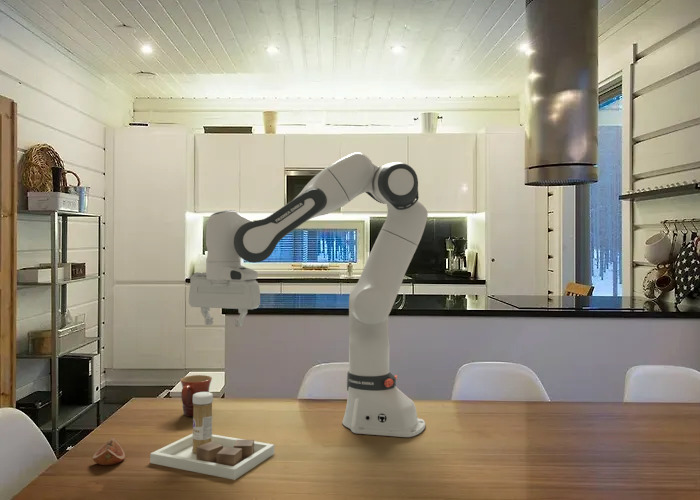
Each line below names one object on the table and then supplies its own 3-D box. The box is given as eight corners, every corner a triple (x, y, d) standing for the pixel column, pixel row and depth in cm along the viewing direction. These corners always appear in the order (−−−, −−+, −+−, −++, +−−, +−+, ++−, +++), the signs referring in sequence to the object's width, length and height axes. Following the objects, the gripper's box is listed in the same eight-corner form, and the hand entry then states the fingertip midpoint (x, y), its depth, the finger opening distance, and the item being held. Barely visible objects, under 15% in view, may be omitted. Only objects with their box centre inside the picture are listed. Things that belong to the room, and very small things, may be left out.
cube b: (222, 463, 126) (222, 445, 126) (208, 469, 123) (208, 450, 123) (210, 459, 129) (210, 441, 129) (196, 465, 126) (196, 446, 125)
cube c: (254, 457, 130) (254, 439, 130) (251, 464, 126) (251, 445, 126) (236, 457, 130) (236, 439, 130) (233, 464, 126) (233, 445, 126)
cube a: (242, 466, 125) (242, 448, 125) (234, 474, 121) (234, 455, 121) (225, 465, 126) (225, 446, 126) (216, 472, 122) (216, 453, 122)
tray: (274, 457, 133) (274, 444, 133) (234, 483, 118) (234, 469, 118) (196, 443, 141) (196, 431, 141) (150, 466, 127) (150, 453, 127)
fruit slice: (122, 471, 124) (122, 448, 124) (88, 474, 122) (88, 450, 122) (127, 457, 132) (127, 435, 132) (95, 459, 131) (95, 437, 130)
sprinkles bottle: (188, 451, 134) (188, 393, 133) (205, 446, 137) (205, 390, 137) (199, 456, 131) (199, 397, 130) (216, 451, 134) (216, 393, 134)
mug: (189, 408, 170) (189, 374, 170) (216, 410, 169) (216, 375, 169) (168, 421, 159) (168, 384, 159) (197, 423, 157) (198, 385, 157)
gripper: (183, 272, 152) (183, 325, 152) (250, 273, 144) (250, 328, 144) (198, 271, 157) (198, 321, 158) (263, 272, 150) (263, 325, 150)
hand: (224, 325), depth 151 cm, fingers open, 8 cm apart
